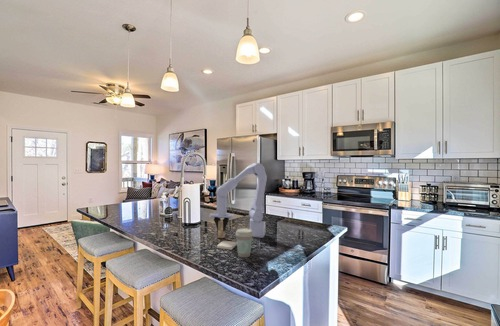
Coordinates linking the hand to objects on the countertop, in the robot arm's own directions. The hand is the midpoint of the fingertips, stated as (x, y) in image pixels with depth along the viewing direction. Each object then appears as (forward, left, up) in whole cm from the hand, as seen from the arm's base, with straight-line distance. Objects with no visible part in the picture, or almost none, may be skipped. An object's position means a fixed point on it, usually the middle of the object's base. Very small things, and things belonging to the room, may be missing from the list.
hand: (221, 230), depth 142 cm
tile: (-8, +8, -4) cm, 12 cm away
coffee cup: (-20, +21, -5) cm, 29 cm away
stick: (0, 0, -4) cm, 4 cm away
